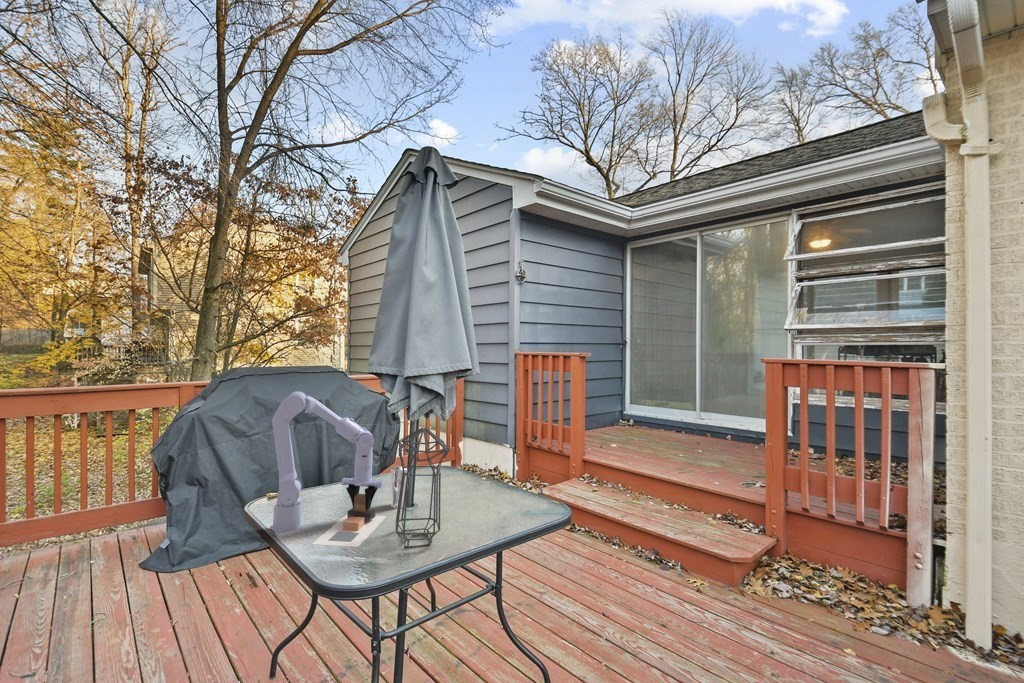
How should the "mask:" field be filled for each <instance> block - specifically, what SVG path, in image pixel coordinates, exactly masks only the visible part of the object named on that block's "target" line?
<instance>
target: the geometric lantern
mask: <svg viewBox="0 0 1024 683" xmlns="http://www.w3.org/2000/svg"><path fill="white" fill-rule="evenodd" d="M427 434H428V435H429V436H430V437H431V438H432V439H434V441H428V436H427ZM418 437H419V439H418V442H415V440H416V439H417V438H418ZM423 437H424V442H422V439H423ZM396 443H398V457H399V460H400V464H401V465H400V466H402V470H403V472H402V479H401V487H400V494H399V501H398V508H396V509H397V510H396V516H395V517H396V519H395V534H396V535H398V536H399V537H400V538H401V539H403V540H404V544H406V542H407V544H406V545H404V546H403V548H405V549H406V548H409V549H410V548H417V547H418V546H419V547H426V546H425V545H428V546H431V545H432V543H433V537H434V536H436V535H437V534H438V533H439V532H440V531H441V489H442V488H441V487H442V486H441V481H442V480H441V476H442V473H441V471H440V469H441V466H442V463H443V459H446V457H447V456H448V454H449V452H450V451H452V449H451V448H450V447H448V445H447V444H446V443H445V441H444V440H443V439H441V438H440V437H438V436H437V435H436V434H434V432H432V431H431V430H430V429H429V428H428V427H427V428H426V427H421V428H419V429H416V430H415V431H413V432H412V433H410V434H408V435H405V436H404V437H403V438H401V439H399V440H397V441H396ZM411 444H412V445H413V444H414V445H417V447H416V448H415V447H414V446H412V445H411ZM429 444H434V445H432V446H431V447H430V448H428V447H429ZM421 445H425V450H420V446H421ZM438 445H439V446H441V447H442V449H436V450H432V449H434V448H436V446H438ZM410 451H411V452H410ZM403 452H406V453H407V454H408V455H410V456H411V457H412V458H411V459H410V461H409V463H408V464H407V465H405V463H404V458H403ZM412 452H414V453H412ZM419 453H422V454H426V458H424V459H422V458H421V459H420V458H419V456H420V455H419ZM430 453H436V454H434V455H432V456H429V454H430ZM441 454H442V455H441ZM440 455H441V457H440V459H439V462H438V464H437V466H435V464H434V463H433V462H432V459H434V458H436V457H438V456H440ZM414 459H415V460H416V461H415V462H414V464H412V463H413V460H414ZM418 462H419V463H420V462H428V464H429V465H416V464H417V463H418ZM411 464H412V465H411ZM410 465H411V466H410ZM403 466H404V467H403ZM405 468H408V469H407V473H405V471H404V469H405ZM413 468H431V471H432V474H420V473H419V474H410V472H411V470H412V469H413ZM435 469H436V471H435ZM405 475H407V477H406V485H405V493H404V501H403V508H401V503H402V495H403V488H404V480H405ZM410 476H413V477H414V476H415V477H417V476H418V477H432V478H431V479H432V480H431V492H430V505H429V513H428V514H429V516H428V517H419V518H418V517H415V518H413V517H412V518H407V504H408V491H409V486H408V477H409V478H410ZM404 506H405V507H404ZM432 506H433V507H432ZM432 508H433V518H432ZM401 509H402V510H401ZM400 517H401V518H400ZM423 520H424V521H426V520H427V523H426V525H425V527H423V528H412V529H406V522H407V521H423ZM430 521H433V522H432V524H431V525H430V526H429V527H428V525H429V522H430ZM400 522H401V525H400V524H399V523H400ZM401 526H402V527H401ZM436 526H437V530H436ZM427 527H428V528H427ZM431 528H432V529H433V531H432V532H430V530H431ZM399 529H400V530H401V531H398V530H399ZM421 530H422V531H423V532H413V531H421ZM410 531H411V532H410ZM407 535H409V536H412V537H419V535H422V536H425V535H427V536H428V537H427V536H426V537H423V538H421V537H420V538H408V537H407ZM420 540H422V541H423V540H428V544H427V543H426V544H425V543H424V544H418V545H417V544H416V545H409V544H410V542H409V541H420ZM430 544H431V545H430Z"/></svg>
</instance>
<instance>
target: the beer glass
mask: <svg viewBox="0 0 1024 683" xmlns="http://www.w3.org/2000/svg"><path fill="white" fill-rule="evenodd" d="M404 466H405V465H404ZM404 466H403V467H404ZM404 471H405V473H407V468H405V469H404ZM402 472H403V470H402V465H398V466H396V465H395V466H393V467H391V468H390V474H389V487H390V493H391V502H390V508H392V509H393V508H394V509H398V501H399V494H400V487H401V479H402ZM406 477H407V475H405V480H404V488H403V495H402V503H401V509H403V501H404V493H405V485H406ZM404 508H405V506H404Z"/></svg>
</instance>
